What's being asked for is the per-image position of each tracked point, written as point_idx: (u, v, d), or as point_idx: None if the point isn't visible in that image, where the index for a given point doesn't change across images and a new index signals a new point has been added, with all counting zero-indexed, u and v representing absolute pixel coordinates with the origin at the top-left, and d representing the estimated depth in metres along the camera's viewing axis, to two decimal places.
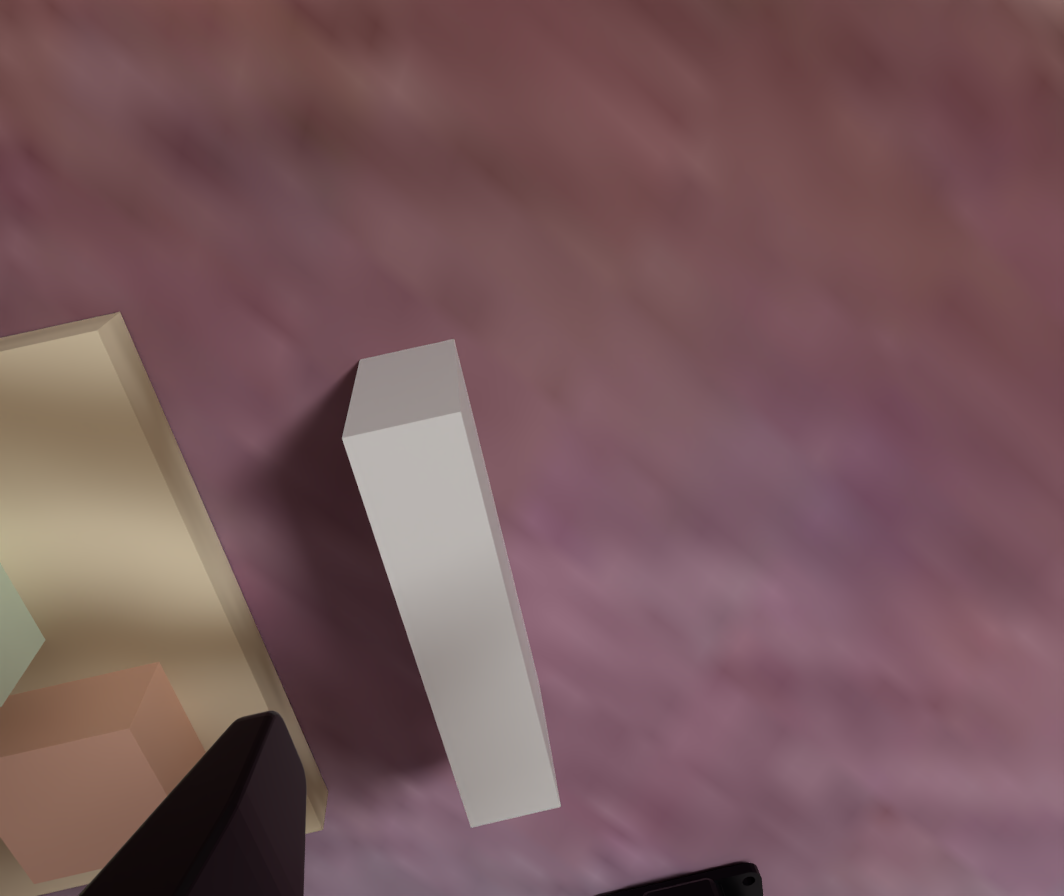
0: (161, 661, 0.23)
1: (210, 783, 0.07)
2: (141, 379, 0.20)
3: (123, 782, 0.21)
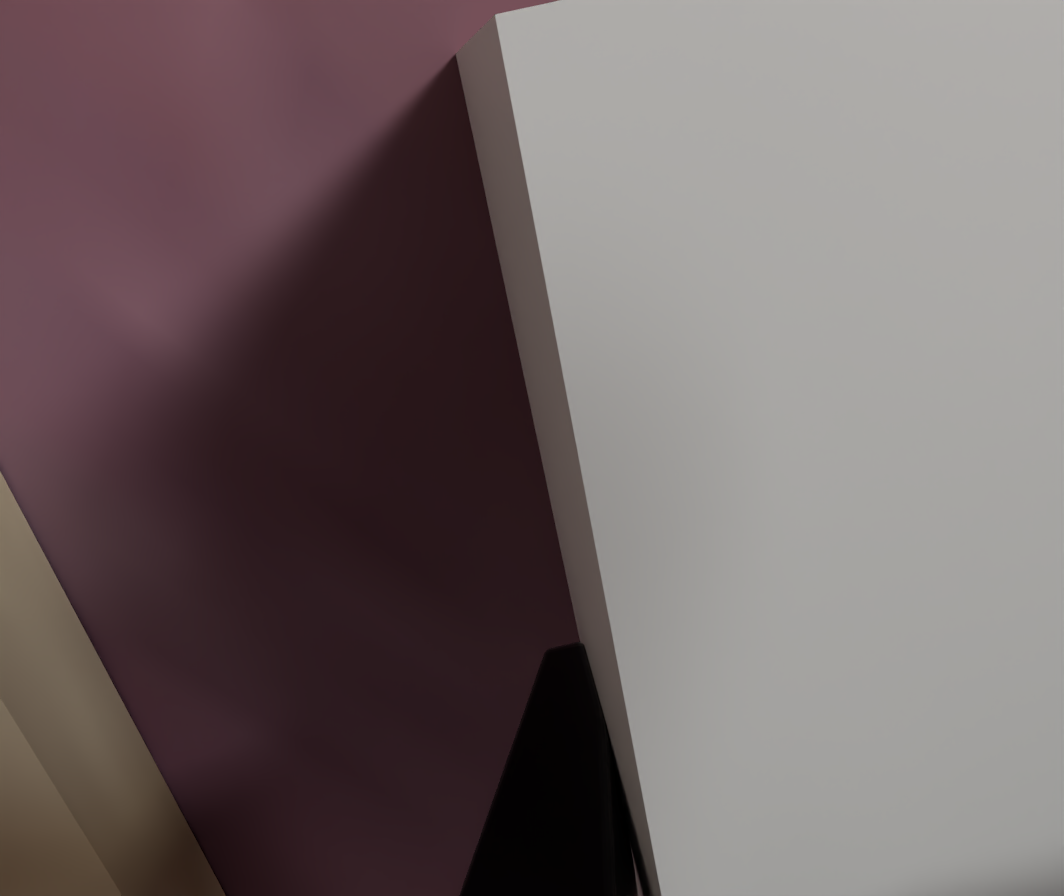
0: None
1: (564, 704, 0.07)
2: None
3: None
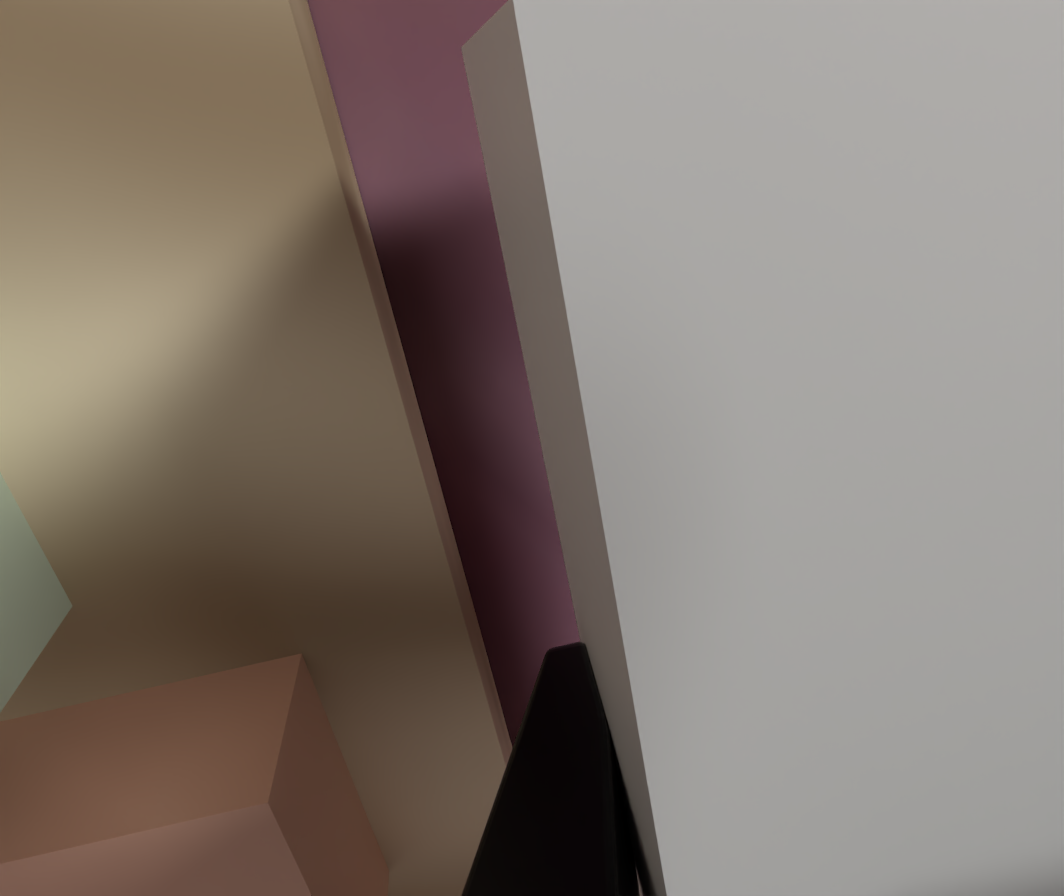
0: (305, 652, 0.11)
1: (566, 704, 0.07)
2: None
3: None
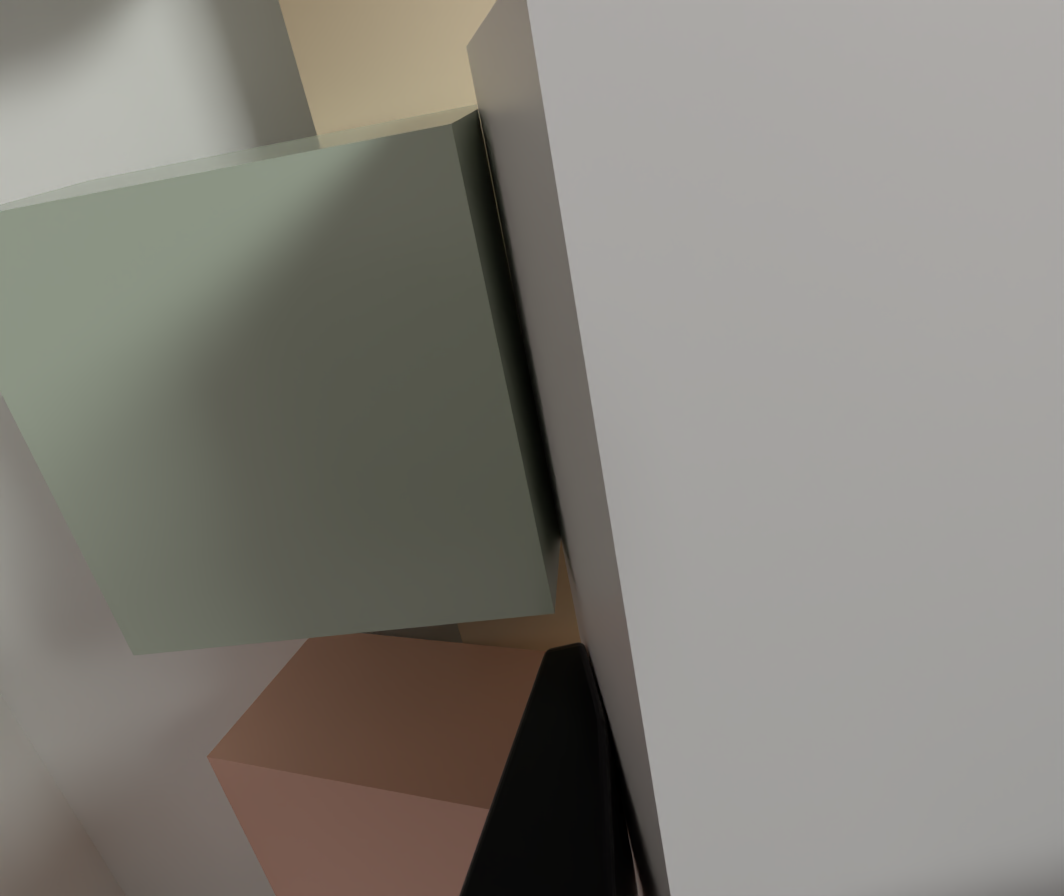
0: None
1: (564, 704, 0.07)
2: None
3: None
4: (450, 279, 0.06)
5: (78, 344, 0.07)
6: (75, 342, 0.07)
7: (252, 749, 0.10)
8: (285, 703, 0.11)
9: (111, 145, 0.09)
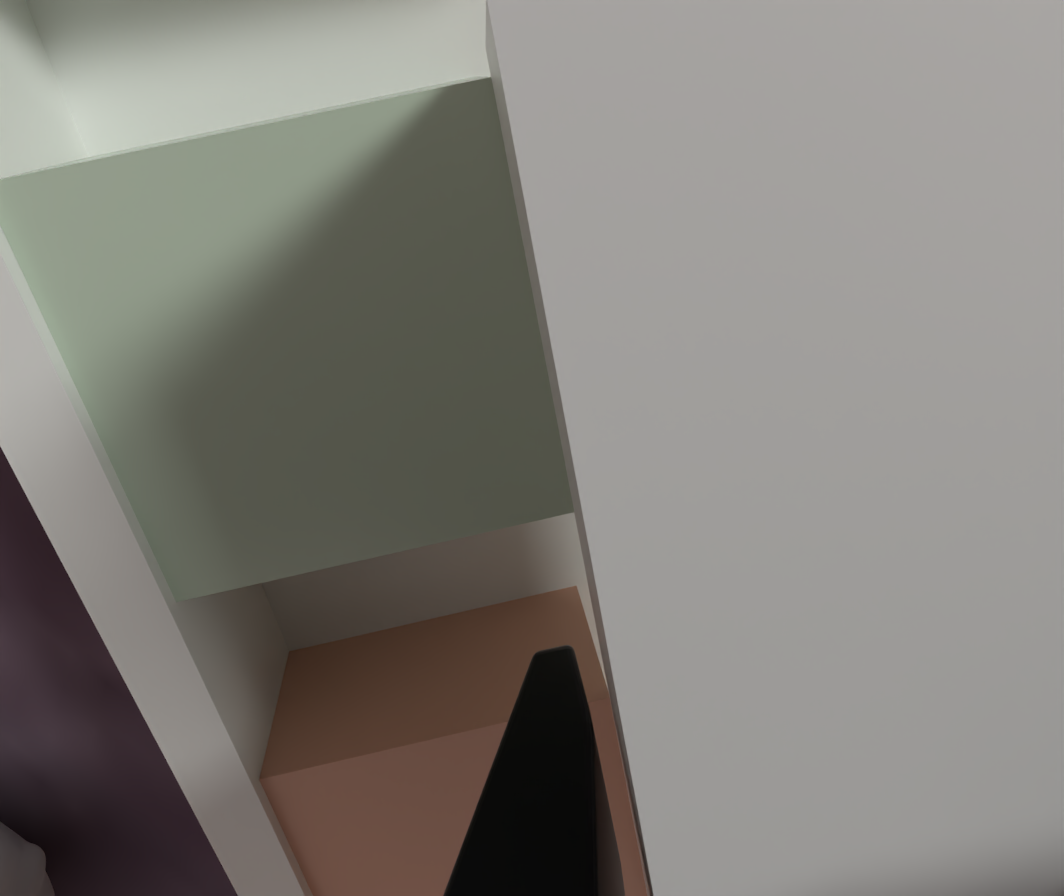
0: None
1: (551, 707, 0.07)
2: None
3: None
4: (488, 212, 0.08)
5: (139, 290, 0.07)
6: (136, 289, 0.07)
7: (304, 756, 0.10)
8: (310, 712, 0.11)
9: (482, 57, 0.09)
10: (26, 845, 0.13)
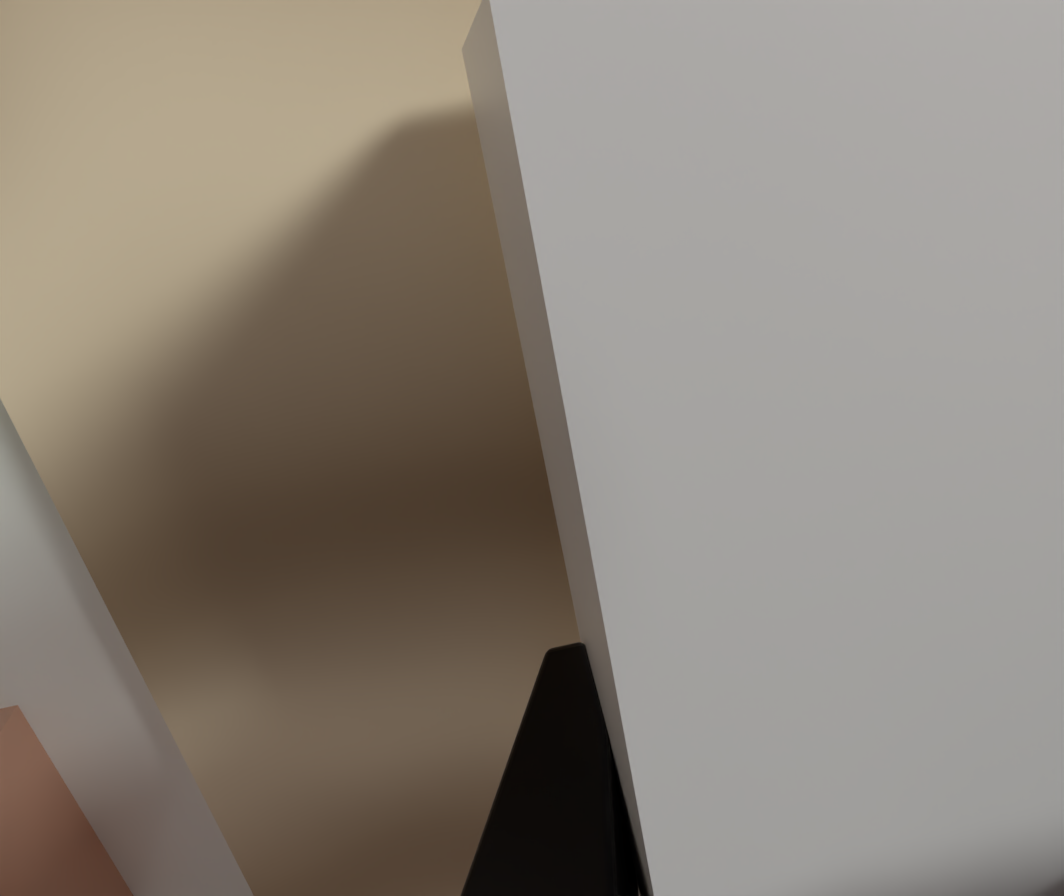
0: None
1: (565, 704, 0.07)
2: None
3: None
4: None
5: None
6: None
7: None
8: None
9: None
10: None
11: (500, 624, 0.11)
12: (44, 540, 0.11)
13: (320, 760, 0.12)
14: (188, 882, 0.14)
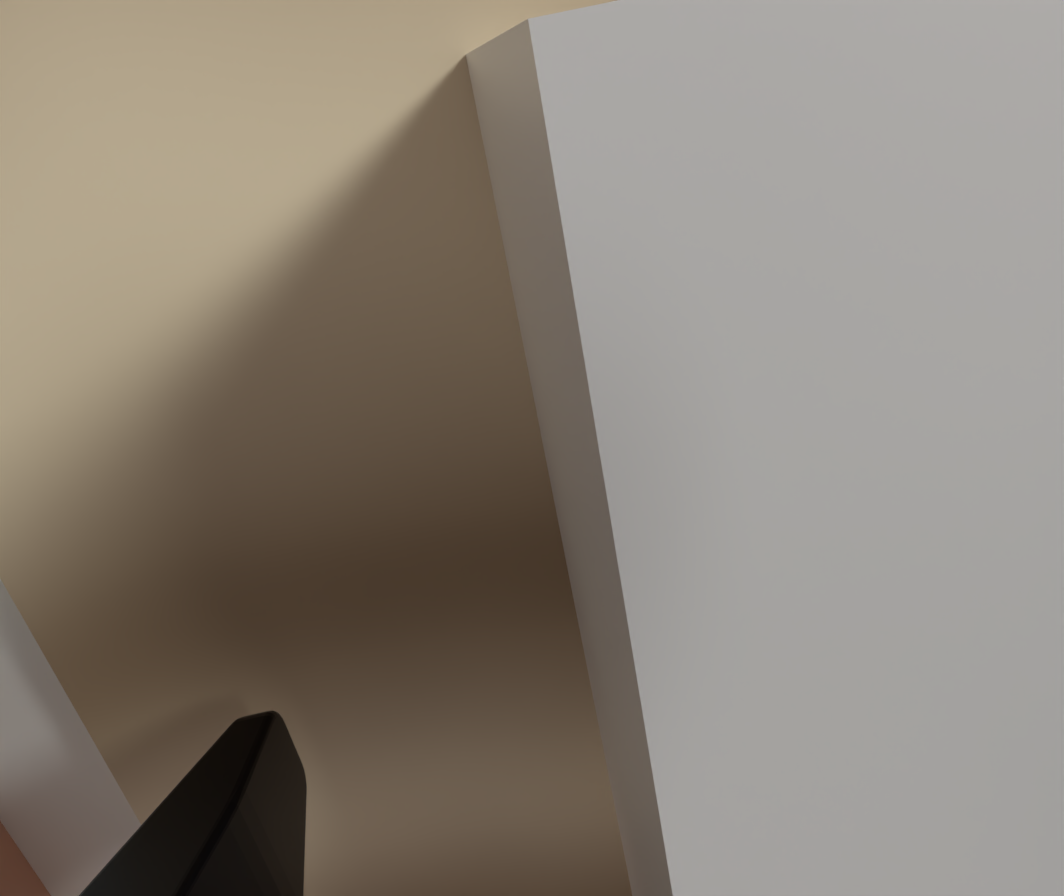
0: None
1: (210, 783, 0.07)
2: None
3: None
4: None
5: None
6: None
7: None
8: None
9: None
10: None
11: (504, 702, 0.10)
12: None
13: (306, 848, 0.10)
14: None
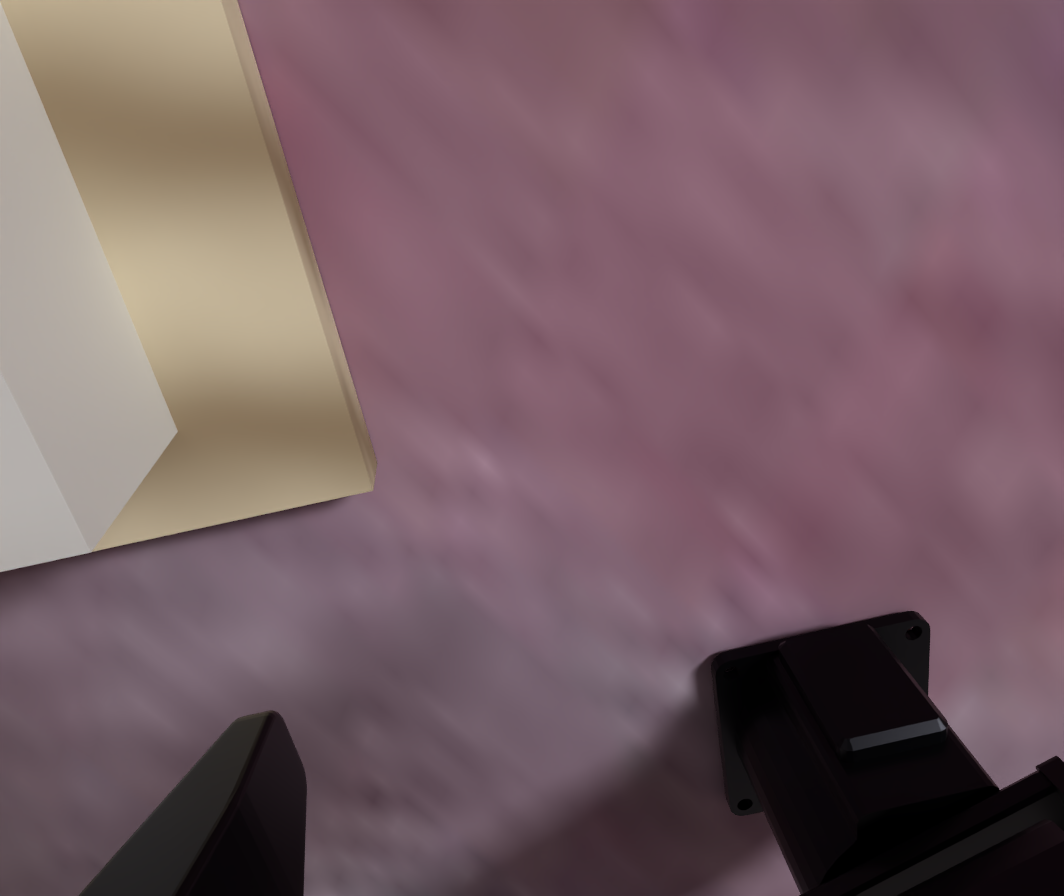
0: (153, 168, 0.16)
1: (210, 783, 0.07)
2: None
3: None
4: None
5: None
6: None
7: None
8: None
9: None
10: None
11: None
12: None
13: None
14: None
